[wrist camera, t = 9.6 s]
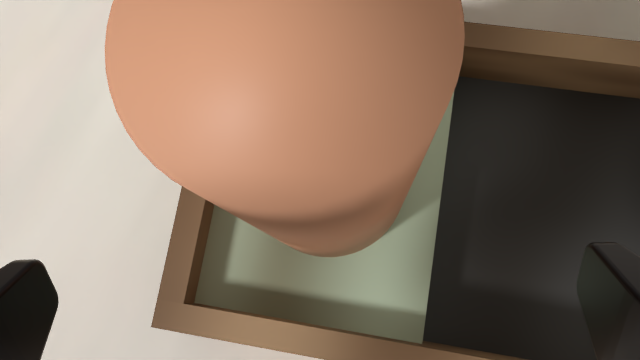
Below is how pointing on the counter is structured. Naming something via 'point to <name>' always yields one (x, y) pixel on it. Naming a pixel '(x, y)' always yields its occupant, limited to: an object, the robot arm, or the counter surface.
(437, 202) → the box
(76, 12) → the counter surface
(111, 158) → the counter surface
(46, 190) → the counter surface
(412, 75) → the smooth tapered peach-colored object
